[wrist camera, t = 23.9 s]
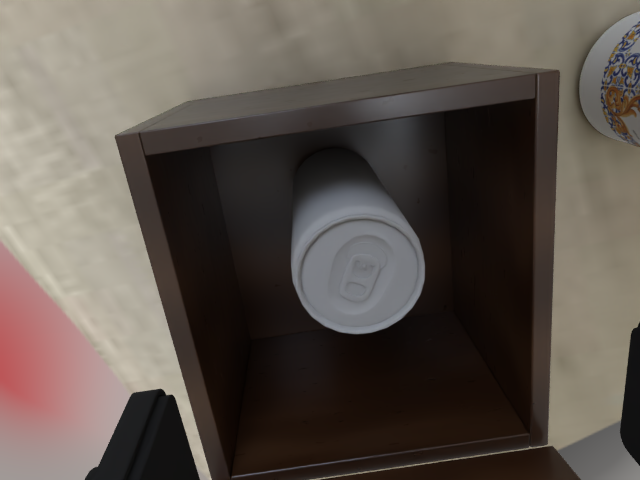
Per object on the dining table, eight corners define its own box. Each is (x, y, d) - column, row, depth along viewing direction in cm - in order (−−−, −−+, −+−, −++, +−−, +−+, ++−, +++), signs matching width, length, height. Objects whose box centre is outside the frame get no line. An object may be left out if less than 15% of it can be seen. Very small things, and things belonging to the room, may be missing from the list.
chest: (186, 101, 27) (113, 135, 16) (452, 61, 27) (561, 69, 16) (241, 344, 33) (215, 493, 22) (462, 312, 33) (548, 445, 22)
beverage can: (388, 161, 28) (451, 234, 17) (359, 237, 30) (399, 351, 18) (306, 134, 27) (315, 192, 16) (281, 214, 29) (273, 319, 18)
